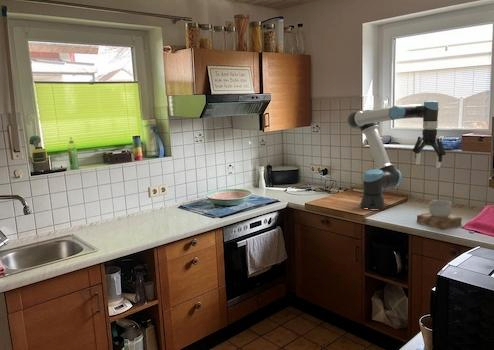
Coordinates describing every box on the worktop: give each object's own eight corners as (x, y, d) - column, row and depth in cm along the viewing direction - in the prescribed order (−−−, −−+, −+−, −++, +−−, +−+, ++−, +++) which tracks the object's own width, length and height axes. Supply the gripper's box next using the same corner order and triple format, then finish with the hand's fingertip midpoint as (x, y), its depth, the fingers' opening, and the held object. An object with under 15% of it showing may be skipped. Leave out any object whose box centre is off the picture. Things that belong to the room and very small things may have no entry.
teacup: (453, 219, 216) (454, 205, 215) (430, 219, 218) (431, 204, 217) (446, 212, 229) (447, 198, 228) (425, 212, 232) (426, 198, 230)
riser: (416, 222, 228) (417, 214, 227) (435, 217, 235) (435, 210, 234) (442, 229, 214) (443, 221, 213) (461, 224, 221) (461, 217, 220)
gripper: (407, 128, 242) (405, 163, 246) (445, 130, 221) (442, 169, 225) (416, 127, 246) (414, 162, 250) (454, 129, 224) (451, 168, 228)
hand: (427, 165), depth 237 cm, fingers open, 13 cm apart
